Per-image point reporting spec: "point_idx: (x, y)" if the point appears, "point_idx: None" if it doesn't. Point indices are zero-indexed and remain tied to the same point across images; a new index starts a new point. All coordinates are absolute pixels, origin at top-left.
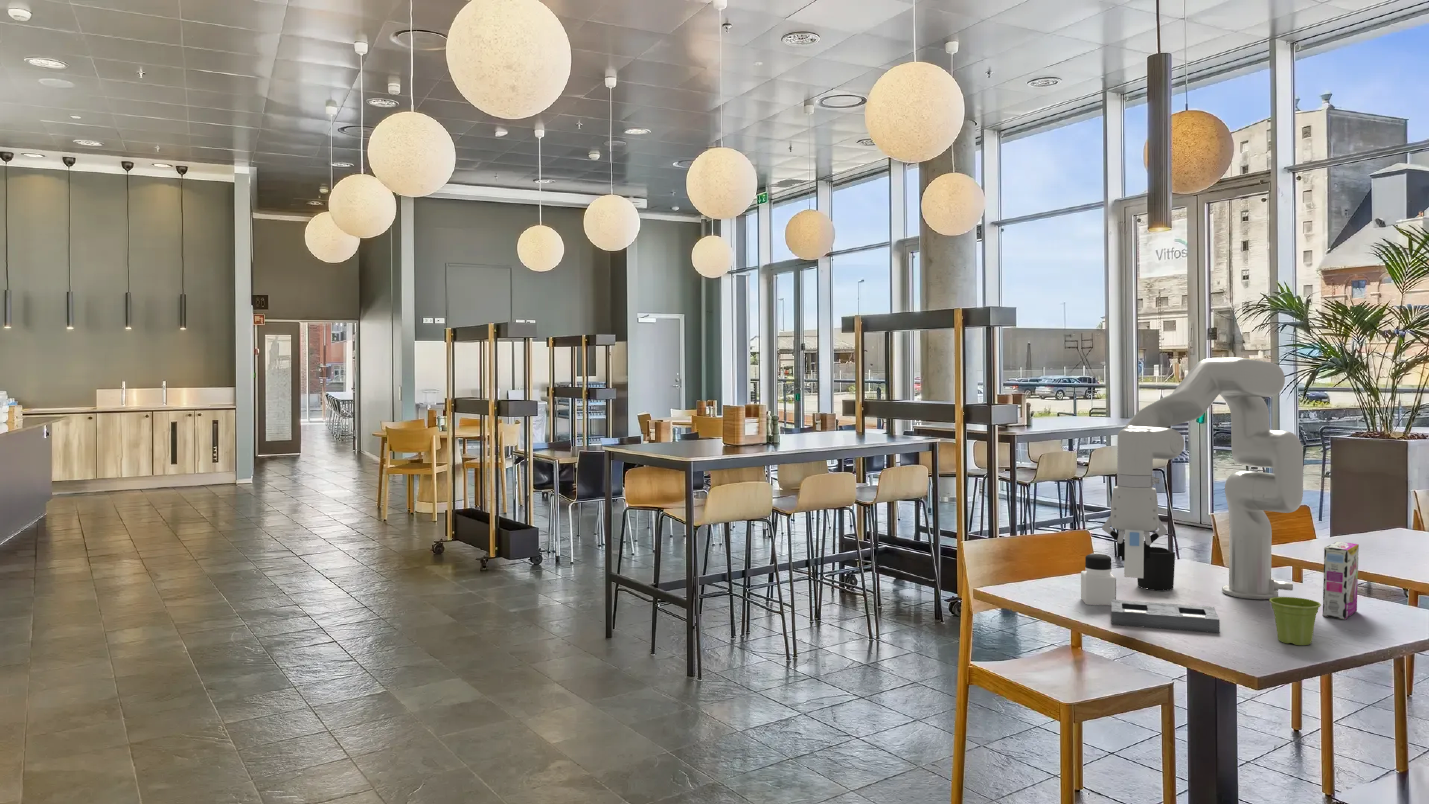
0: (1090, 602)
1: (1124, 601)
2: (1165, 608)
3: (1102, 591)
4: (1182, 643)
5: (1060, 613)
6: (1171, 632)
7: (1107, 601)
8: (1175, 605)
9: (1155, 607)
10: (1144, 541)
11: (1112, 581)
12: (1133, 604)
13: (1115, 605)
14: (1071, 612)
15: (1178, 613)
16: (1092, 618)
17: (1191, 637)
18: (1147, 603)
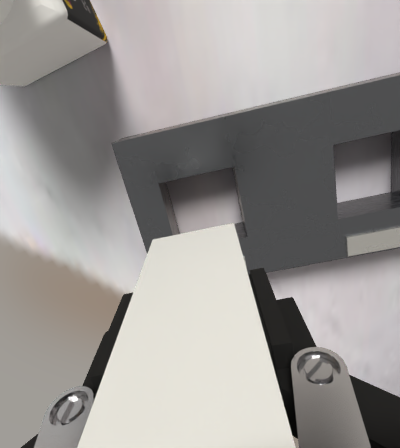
0: (31, 81)
1: (158, 151)
2: (294, 181)
3: (45, 56)
4: (329, 341)
5: (16, 232)
6: (304, 272)
7: (78, 54)
8: (324, 117)
9: (263, 184)
10: (289, 417)
11: (60, 30)
12: (193, 175)
13: (149, 222)
14: (33, 206)
15: (334, 226)
16: (105, 240)
17: (349, 291)
18: (232, 139)
